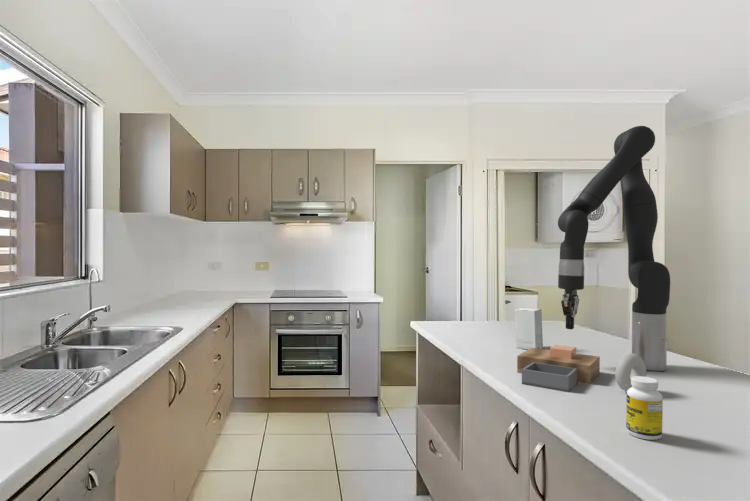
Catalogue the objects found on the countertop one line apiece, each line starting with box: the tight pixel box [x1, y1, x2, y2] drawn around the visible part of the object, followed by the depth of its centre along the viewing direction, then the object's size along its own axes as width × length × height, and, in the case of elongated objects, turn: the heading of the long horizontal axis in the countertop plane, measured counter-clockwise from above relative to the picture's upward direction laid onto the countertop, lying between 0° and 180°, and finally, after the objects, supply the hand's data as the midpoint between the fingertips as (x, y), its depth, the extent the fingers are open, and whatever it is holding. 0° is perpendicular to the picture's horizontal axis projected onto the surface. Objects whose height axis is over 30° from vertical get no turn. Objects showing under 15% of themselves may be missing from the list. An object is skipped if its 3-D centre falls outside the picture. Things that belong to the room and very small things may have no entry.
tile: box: [549, 344, 577, 359], centre depth 138 cm, size 6×6×2 cm
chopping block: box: [516, 348, 601, 385], centre depth 138 cm, size 20×14×5 cm
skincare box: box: [514, 307, 544, 351], centre depth 172 cm, size 8×6×15 cm
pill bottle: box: [625, 376, 664, 441], centre depth 92 cm, size 6×6×11 cm
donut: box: [614, 352, 647, 393], centre depth 120 cm, size 10×3×10 cm, turn 117°
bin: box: [521, 362, 578, 393], centre depth 127 cm, size 12×10×4 cm
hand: (569, 328), depth 146 cm, fingers closed
